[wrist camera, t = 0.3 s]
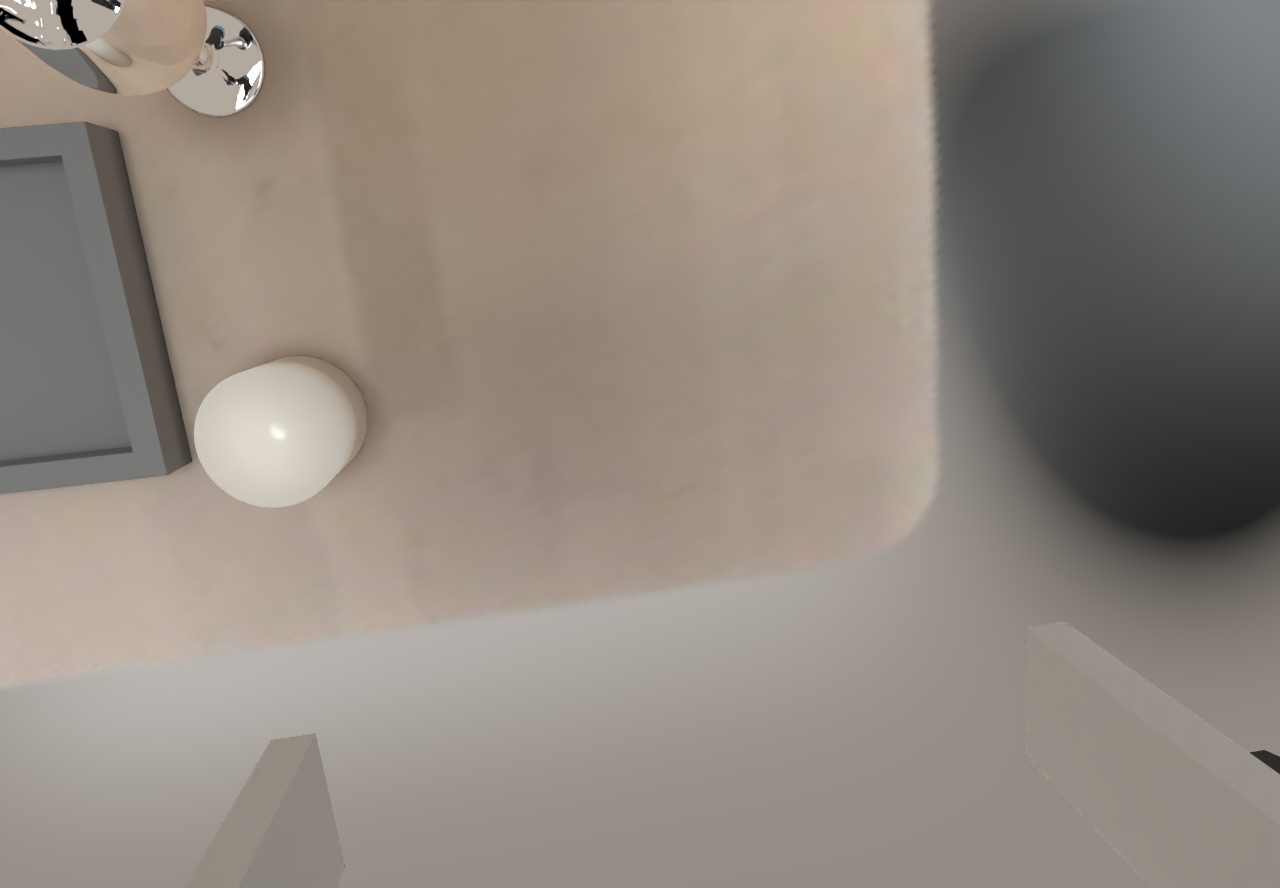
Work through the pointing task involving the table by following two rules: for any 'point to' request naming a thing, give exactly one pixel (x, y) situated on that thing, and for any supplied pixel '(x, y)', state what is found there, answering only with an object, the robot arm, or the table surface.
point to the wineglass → (143, 48)
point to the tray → (78, 319)
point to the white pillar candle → (280, 430)
